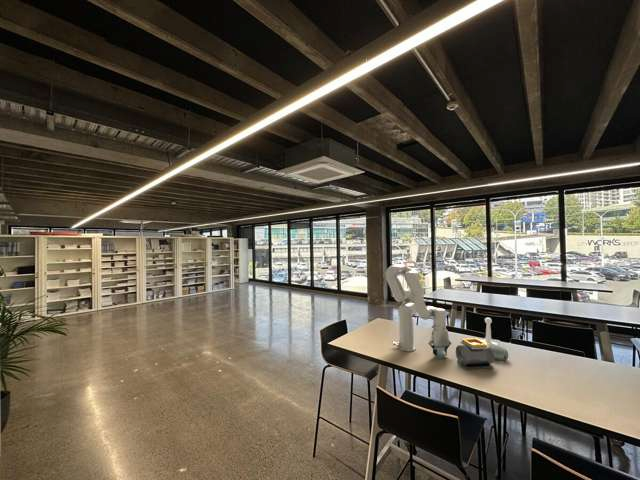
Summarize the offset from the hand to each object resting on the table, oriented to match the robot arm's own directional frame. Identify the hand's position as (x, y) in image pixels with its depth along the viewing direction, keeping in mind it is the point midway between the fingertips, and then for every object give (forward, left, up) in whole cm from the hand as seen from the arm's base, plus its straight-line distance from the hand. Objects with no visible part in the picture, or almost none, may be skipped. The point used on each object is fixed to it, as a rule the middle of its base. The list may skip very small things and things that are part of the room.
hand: (439, 354), depth 173 cm
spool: (+34, -6, -1) cm, 35 cm away
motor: (+14, -14, -1) cm, 20 cm away
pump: (0, -1, -1) cm, 2 cm away
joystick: (+45, +15, -1) cm, 48 cm away
